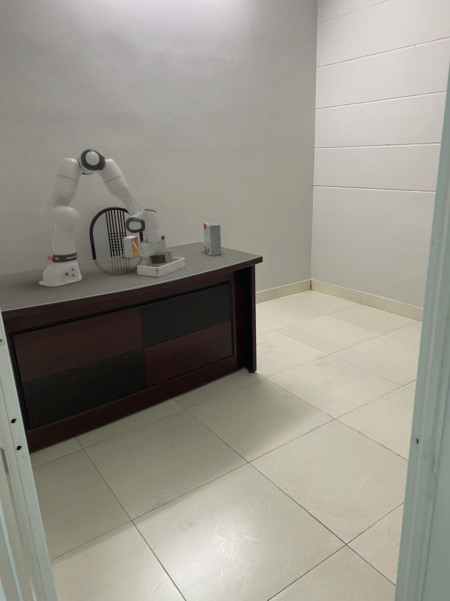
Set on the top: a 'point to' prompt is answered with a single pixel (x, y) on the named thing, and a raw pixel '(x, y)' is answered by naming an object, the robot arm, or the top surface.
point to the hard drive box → (212, 238)
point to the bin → (162, 268)
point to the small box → (131, 246)
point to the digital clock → (160, 258)
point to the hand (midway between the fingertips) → (153, 262)
